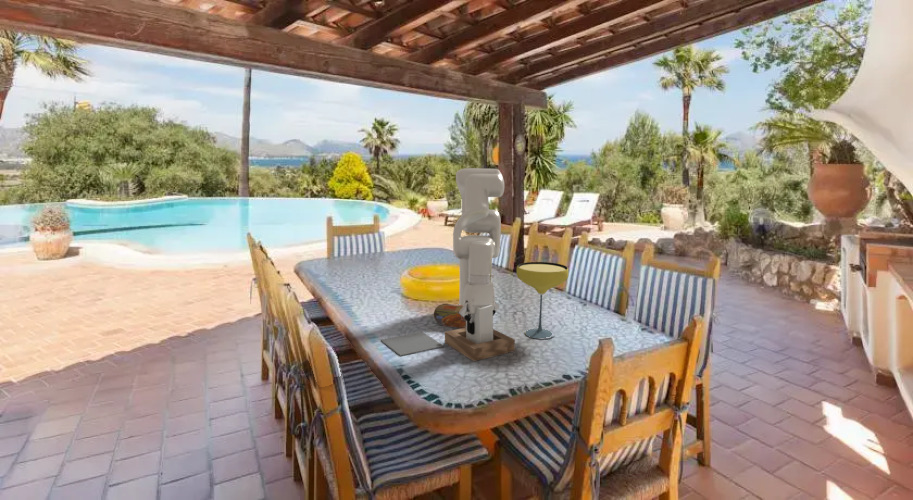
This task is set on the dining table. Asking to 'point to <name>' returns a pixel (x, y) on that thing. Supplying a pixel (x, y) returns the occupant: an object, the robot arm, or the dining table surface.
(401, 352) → the mat
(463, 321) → the tin
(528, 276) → the cocktail glass
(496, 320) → the dining table surface
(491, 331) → the skincare box
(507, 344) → the frame
